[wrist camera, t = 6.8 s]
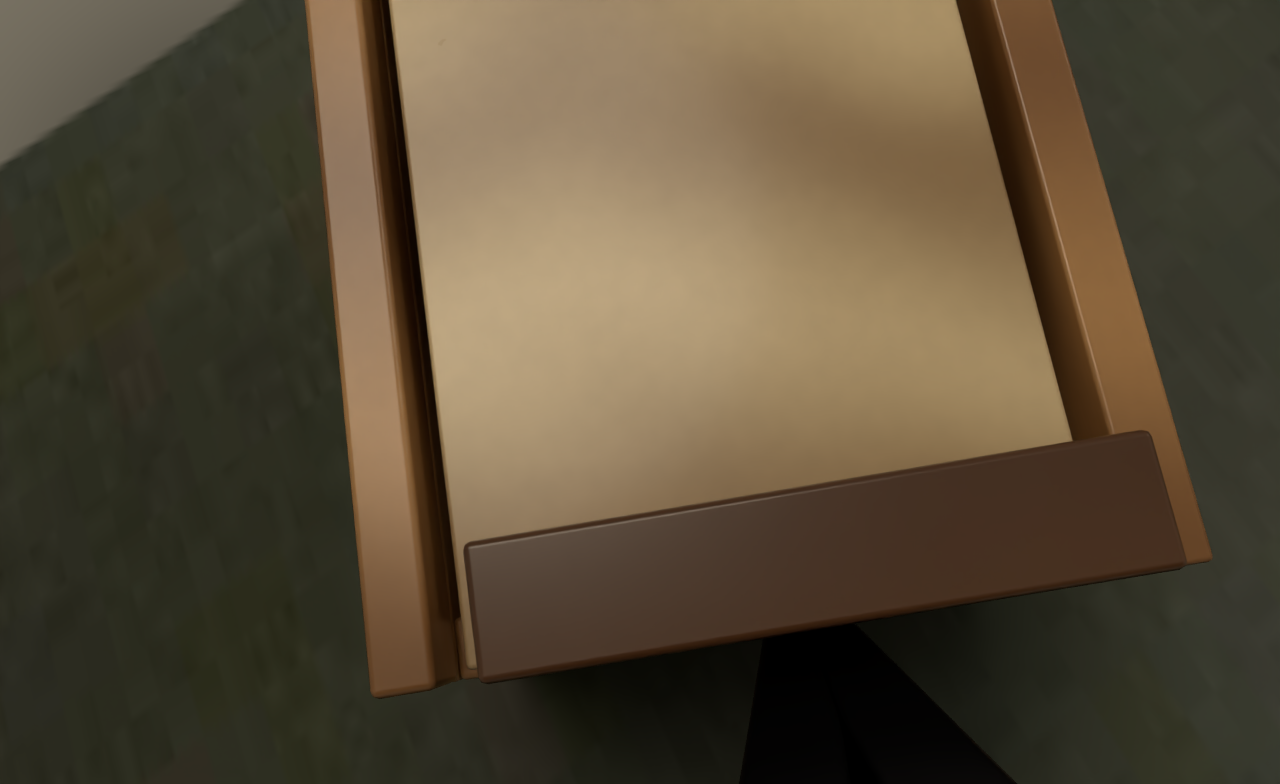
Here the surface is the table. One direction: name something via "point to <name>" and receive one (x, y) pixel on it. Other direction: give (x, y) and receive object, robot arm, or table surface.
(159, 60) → the table surface
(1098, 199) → the box
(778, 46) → the lid
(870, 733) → the robot arm
